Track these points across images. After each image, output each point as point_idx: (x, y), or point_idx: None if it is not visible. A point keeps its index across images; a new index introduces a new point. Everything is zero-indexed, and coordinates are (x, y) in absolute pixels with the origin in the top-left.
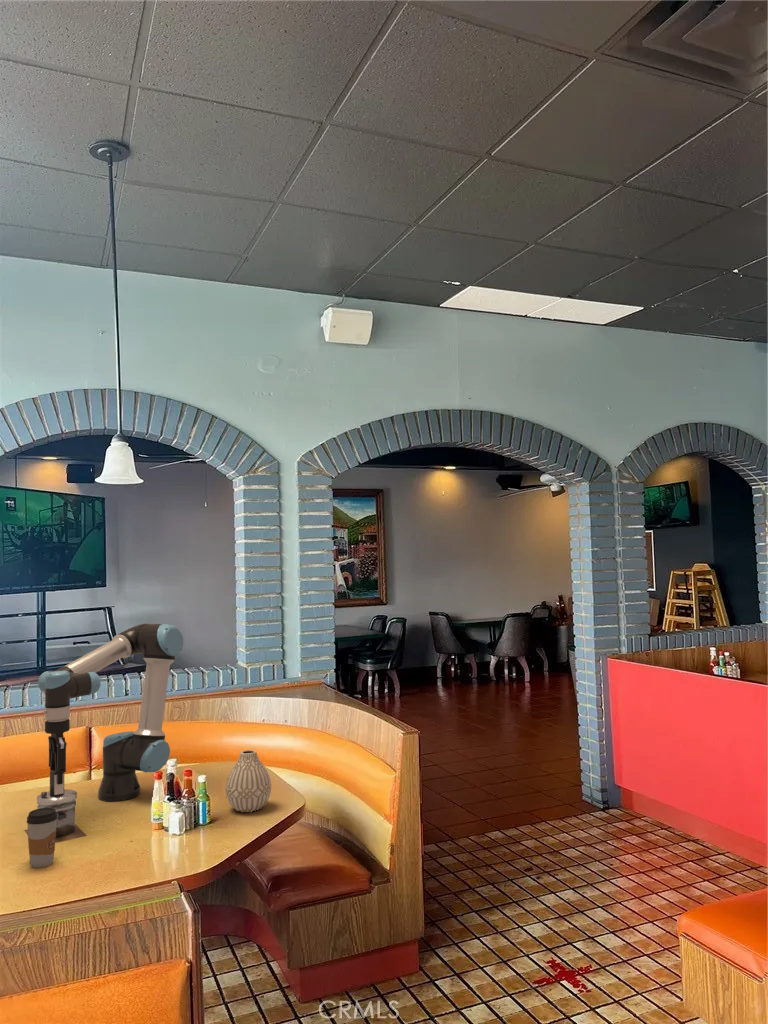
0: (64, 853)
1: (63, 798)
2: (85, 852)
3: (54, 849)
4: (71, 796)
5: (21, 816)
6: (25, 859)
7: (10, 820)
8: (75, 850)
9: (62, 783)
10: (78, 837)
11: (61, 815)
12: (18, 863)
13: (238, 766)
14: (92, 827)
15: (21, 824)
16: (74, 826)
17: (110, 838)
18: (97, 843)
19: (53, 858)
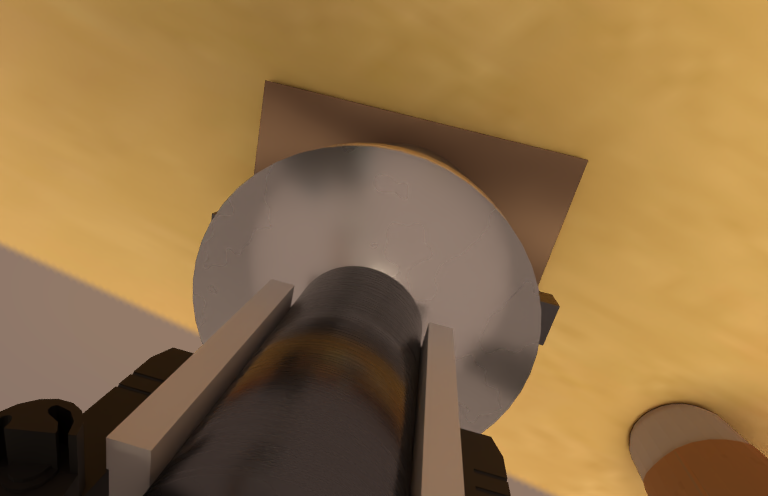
0: (662, 332)
1: (516, 350)
2: (758, 272)
3: (758, 451)
4: (529, 277)
5: (12, 198)
6: (562, 443)
7: (41, 254)
8: (680, 285)
9: (491, 440)
10: (568, 205)
11: (546, 334)
12: (577, 474)
13: None
14: (445, 40)
15: (127, 252)
16: (456, 169)
17: (719, 70)
18: (710, 165)
19: (726, 423)
